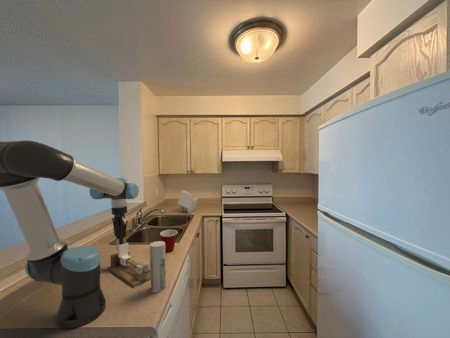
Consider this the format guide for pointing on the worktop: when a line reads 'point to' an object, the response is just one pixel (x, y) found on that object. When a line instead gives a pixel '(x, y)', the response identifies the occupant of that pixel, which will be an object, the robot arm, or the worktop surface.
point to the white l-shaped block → (124, 253)
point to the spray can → (157, 266)
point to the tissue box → (187, 201)
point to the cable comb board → (130, 271)
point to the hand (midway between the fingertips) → (120, 249)
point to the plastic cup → (169, 239)
